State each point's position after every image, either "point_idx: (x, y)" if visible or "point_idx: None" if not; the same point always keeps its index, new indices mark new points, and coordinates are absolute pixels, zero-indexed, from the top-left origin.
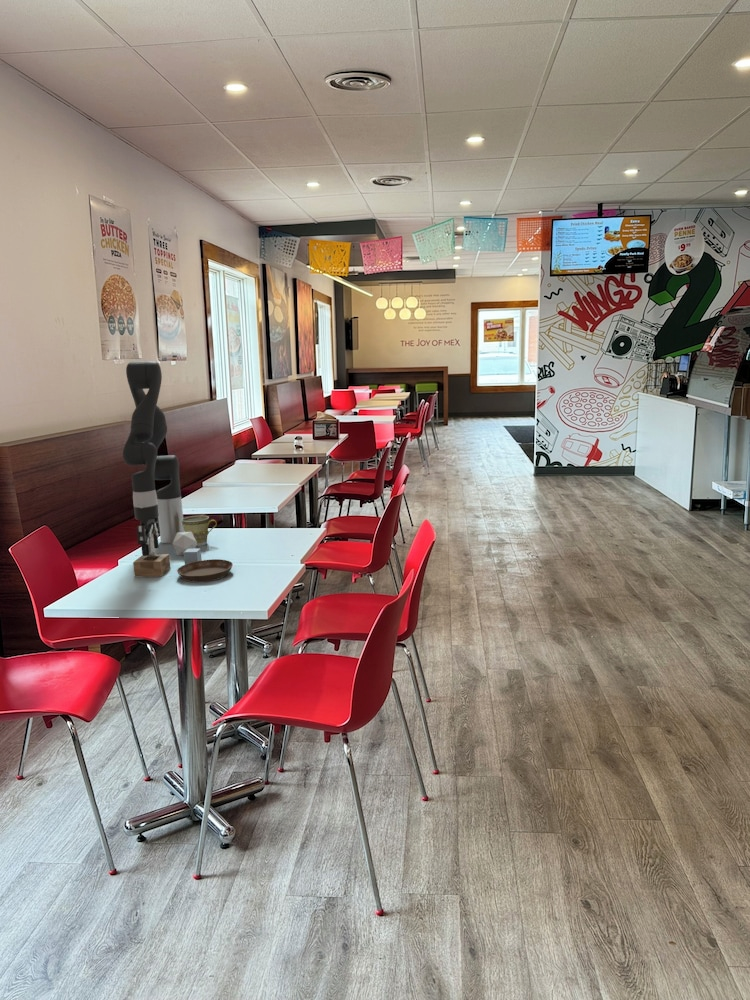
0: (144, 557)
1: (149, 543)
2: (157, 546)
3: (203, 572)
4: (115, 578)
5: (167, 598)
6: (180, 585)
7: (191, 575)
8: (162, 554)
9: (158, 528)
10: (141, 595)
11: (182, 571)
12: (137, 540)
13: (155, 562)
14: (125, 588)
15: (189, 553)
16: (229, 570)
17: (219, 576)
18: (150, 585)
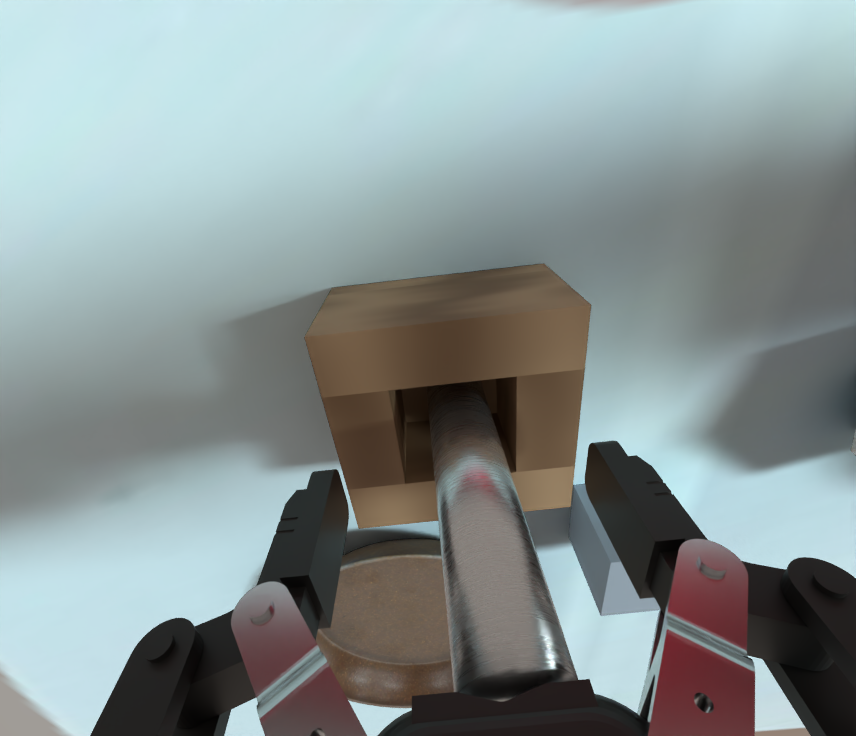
0: (481, 367)
1: (443, 574)
2: (594, 502)
3: (436, 595)
4: (267, 124)
5: (63, 593)
6: (245, 575)
7: (388, 571)
8: (564, 469)
9: (819, 734)
10: (30, 490)
11: (408, 546)
12: (108, 700)
13: (352, 498)
14: (83, 349)
15: (601, 578)
16: (410, 689)
17: (356, 668)
18: (197, 462)
